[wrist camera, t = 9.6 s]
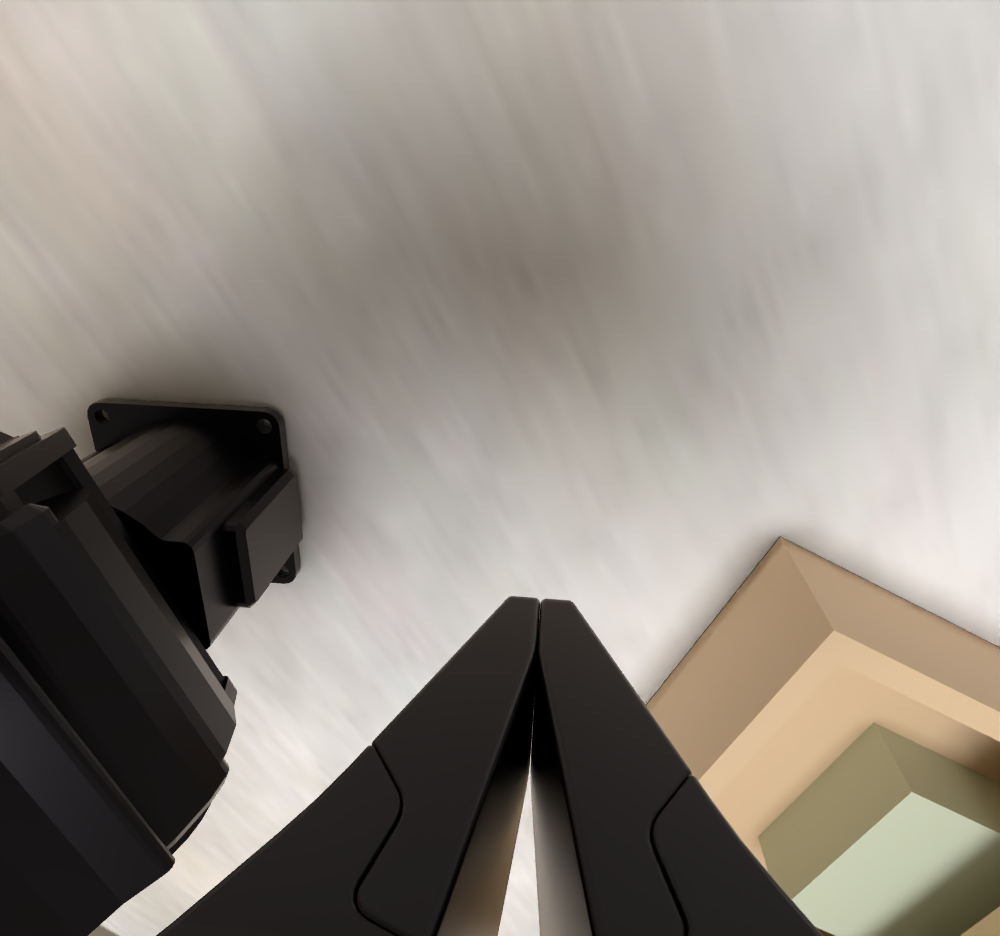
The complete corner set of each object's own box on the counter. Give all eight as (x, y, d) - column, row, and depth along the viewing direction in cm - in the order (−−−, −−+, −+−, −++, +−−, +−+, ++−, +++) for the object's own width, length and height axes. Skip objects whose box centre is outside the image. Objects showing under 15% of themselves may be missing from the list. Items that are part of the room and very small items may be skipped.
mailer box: (551, 824, 29) (547, 947, 24) (780, 536, 22) (834, 629, 18) (940, 995, 31) (1005, 1138, 26) (1252, 775, 24) (1408, 914, 20)
